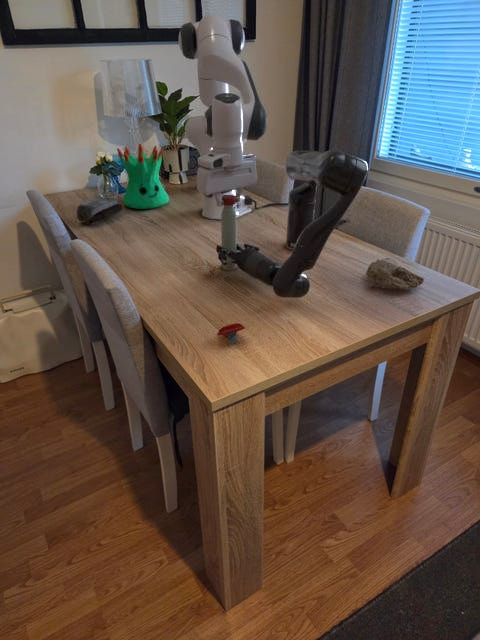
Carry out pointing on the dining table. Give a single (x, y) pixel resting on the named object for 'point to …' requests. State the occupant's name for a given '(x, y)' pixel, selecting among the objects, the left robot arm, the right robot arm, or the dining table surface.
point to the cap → (229, 199)
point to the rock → (98, 210)
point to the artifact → (391, 275)
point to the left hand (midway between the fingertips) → (228, 204)
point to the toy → (143, 179)
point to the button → (231, 331)
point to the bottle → (228, 232)
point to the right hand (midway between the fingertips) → (224, 246)
